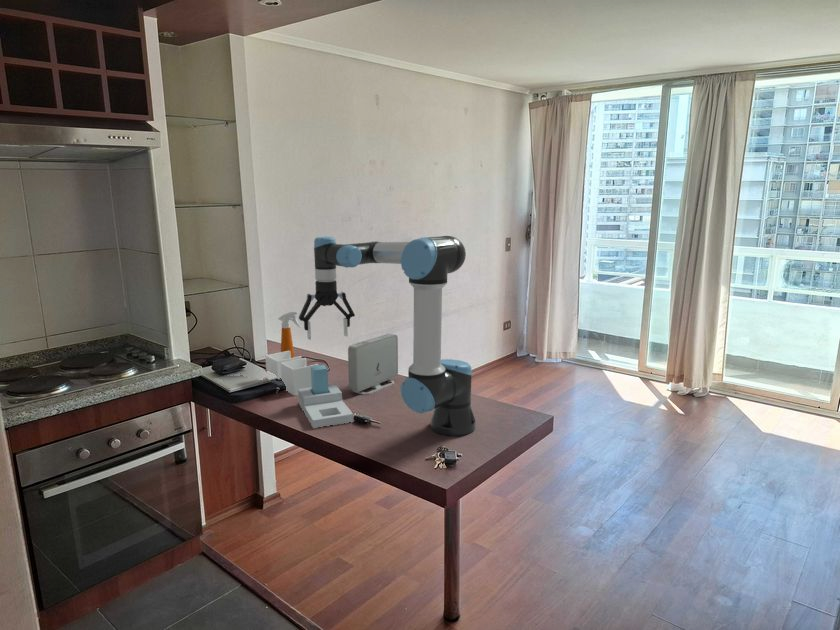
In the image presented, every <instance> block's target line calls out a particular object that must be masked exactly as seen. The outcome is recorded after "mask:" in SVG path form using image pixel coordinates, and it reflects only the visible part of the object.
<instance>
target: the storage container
mask: <svg viewBox="0 0 840 630" xmlns="http://www.w3.org/2000/svg"><path fill="white" fill-rule="evenodd" d="M307 362H308V361H307V357H304V358H303V357H302V355H299V356H295V357H294V358H291V351H285V352H281V351H279V352H276V353H270V354H266V355H265V370H268V371H270V372H271V373H273V374H275V375H276V376H277V377H278V378H281V379H282V381H283V382H284V384H285V386H286V392H287V391H288V393H289V394H291V395H292V394H293V395H292V396H294V395H297V396H299V395H298V389H303V388H310V387H312V384H311V366H319V365H320V364H319V363H315V364H311V365H308V363H307Z"/></svg>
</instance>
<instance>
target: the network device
mask: <svg viewBox="0 0 840 630" xmlns="http://www.w3.org/2000/svg"><path fill="white" fill-rule="evenodd" d="M398 340H399V339H398V335H397V334H395V333H394V334H392V333H386V334H383V335H379V336H375V337H372V338H369V339H366V340H363V341H359V342H357V343H352V344H350V345H348V349H347V363H348V364H347V365H348V367H347V368H348V388H349V390H351V391H352V392H353V393H355V394H359V395H362V396H367V395H368V396H369V395H372V394H375V393H377V392H379V391H381V389H382V390H384V389H387V388H389V387H391V386H393V385H392V384H395V381H394V380H392V379H394V378H396V377H397V376H398V374H399V356H398V355H399V349H398V347H399V346H398V345H399V341H398ZM386 381H388V382H387V383H388V384H386V385H381V383H384V382H386ZM390 382H392V383H390ZM390 385H391V386H390ZM388 386H389V387H388ZM370 387H371V388H370ZM386 387H387V388H386ZM369 388H370V389H372V390H370V391H368V392H364V391H363V390H366V389H369ZM373 388H374V389H373ZM383 388H384V389H383ZM376 391H377V392H376ZM374 392H375V393H374Z"/></svg>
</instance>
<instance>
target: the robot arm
mask: <svg viewBox="0 0 840 630" xmlns="http://www.w3.org/2000/svg"><path fill="white" fill-rule="evenodd" d="M313 243H314V244H313V245H314V247H313V252H314V253H313V254H314V274H315V275H314V278H315V282H314V283H315V284H314V285H315V294H311V293H307V294H306V301H305V302H304V305H303V306H302V310H301V311H300V313H299V316H298V320H299V321H301V322H303V329H304V330H305V331H306V332H307V333H306V334H307V336H306V337H307V339H308V341H311V340H312V335H311V334H312V331H311V321H310V320H311V318H312V317H313V316H314V314H315V313H316V312H317V310H318V309H319V308H320V307H321V306H322V307H327V306H329V307H330V306H332V305H334V306H335V307H336V309H338V310H339V311H340V313H342V314H343V316H344V317H343V335H344V336H345V337H348V334H349V333H348V328H350V326H351V318H352V317H356V315H355V312H354V311H353V308H352V307H351V305H350V303H349V301H348V299H347V296H346V293H345V292H344V291H341V292H338V291H337V288H338V287H337V267H343V268H348V269H349V268H356V267H357V266H359V265H367V264H390V265H391V264H392V265H393V264H394V265H395V264H396V265H398V264H400V266H401V269H402V271H404V272H403V274H405V275H404V276H406V277H407V278H408V283H409V284H410V286H412V287H413V341H412V342H413V348H412V349H413V350H412V351H413V354H412V355H413V356H412V357H413V358H412V359H413V362H412V364H411V365H409V367H408V369H407V371H408V377H407V378H405V379H404V381H402V382H401V384H400V385H401V386H400V394H401V397H402V400H403V402H404V404H406V406H407V407H408V408H409V409H410V410H411V411H412V412H414V413H418V414H423V413H427V412H432V411H433V414H432V416H431V419H430V428H431V430H432V431H434V432H435V433H438V434H441V435H445V436H452V437H455V436H465V435H468V434H471V433H473V432H474V431H475V430H476V426H477V425H476V418H475V415H474V412H473V409H472V377H473V374H472V373H473V372H472V367H471V365H470V363H469V362H467V361H464V360H463V361H462V360H459V359H452V358H450V359H448V358H447V359H446V358H443V359H442V322H443V321H442V315H443V313H442V310H443V305H442V304H443V288H444V287H445V286H446V285H447V284H448V275H449V274H451V273H455V272H456V271H458V270H460V268H462V266H463V265H464V263H465V260H466V255H467V254H466V247H465V245H464V244H463V243H462V241H461V240H459V239H458V238H457V237H454V236H452V235H442V236H441V235H440V236H427V237H425V236H424V237H423V236H422V237H419V238H415V239H413V240H409V241H368V242H362V243H361V242H359V243H349V244H348V243H346V244H341V243H340V244H339V243H337V242H336V238H335V237H333V236H318V237H316V238H314V241H313ZM338 298H339V299H341V300H342V302H343V304H344V305H345V308H346V310H347V311H348V312H347V311H346V310H345V309H344V308H343V307H342V306H341V305H340V304H339V302H338V301H337V299H338ZM314 299H315V300H316V301H315V303H314V304H313V306H312V307H311V309H309V307H310V305H311V303H312V301H313V300H314ZM308 309H309V311H308ZM306 313H307V314H306Z"/></svg>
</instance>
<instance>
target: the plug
mask: <svg viewBox="0 0 840 630" xmlns="http://www.w3.org/2000/svg"><path fill="white" fill-rule="evenodd" d="M310 366H311V365H310ZM328 371H329V369H328V368H327V367H326V365H325V364H322V365H320V364H319V366H311V384H312V394H313V395H316V394H324V393H328V385H329V377H328V376H329V373H328Z"/></svg>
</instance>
